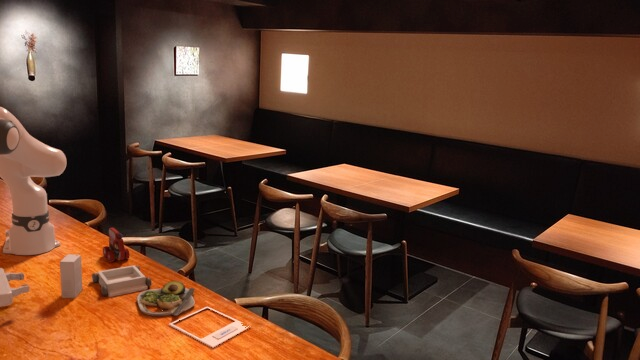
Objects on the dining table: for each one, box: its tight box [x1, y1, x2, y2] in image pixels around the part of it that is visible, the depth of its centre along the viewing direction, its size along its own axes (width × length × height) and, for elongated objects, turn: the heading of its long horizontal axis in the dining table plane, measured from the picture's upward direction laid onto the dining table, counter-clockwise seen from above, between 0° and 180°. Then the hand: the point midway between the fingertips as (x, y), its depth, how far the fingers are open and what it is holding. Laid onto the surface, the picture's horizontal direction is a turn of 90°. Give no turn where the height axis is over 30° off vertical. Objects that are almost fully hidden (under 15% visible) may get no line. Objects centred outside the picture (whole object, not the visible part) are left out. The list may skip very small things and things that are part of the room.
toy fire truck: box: [102, 227, 130, 263], centre depth 186 cm, size 7×12×10 cm, turn 40°
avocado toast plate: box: [136, 280, 196, 317], centre depth 155 cm, size 19×18×5 cm
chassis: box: [91, 264, 152, 298], centre depth 166 cm, size 15×15×4 cm
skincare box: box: [59, 253, 83, 299], centre depth 156 cm, size 6×4×12 cm
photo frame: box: [168, 306, 252, 349], centre depth 145 cm, size 15×1×18 cm
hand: (26, 281), depth 149 cm, fingers open, 8 cm apart
